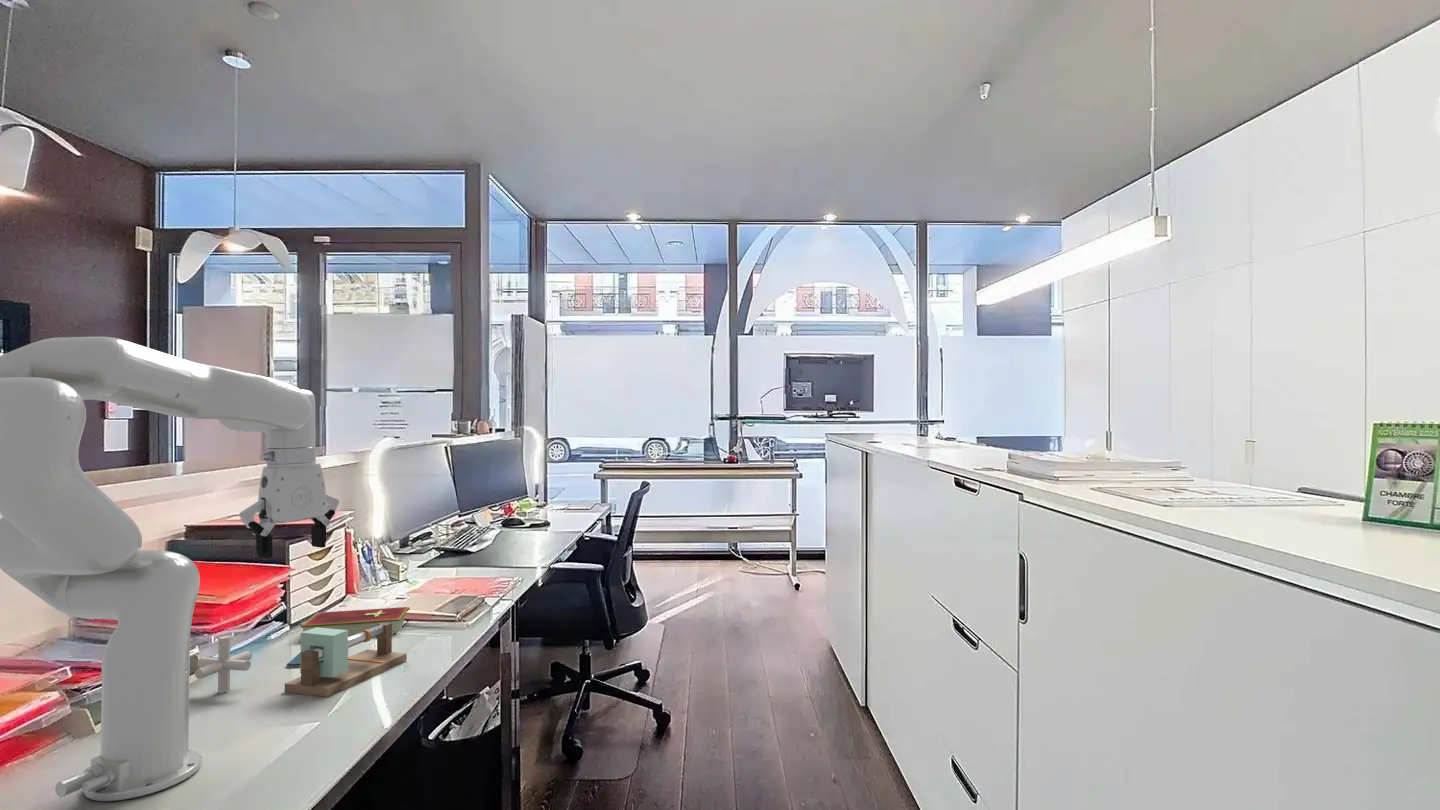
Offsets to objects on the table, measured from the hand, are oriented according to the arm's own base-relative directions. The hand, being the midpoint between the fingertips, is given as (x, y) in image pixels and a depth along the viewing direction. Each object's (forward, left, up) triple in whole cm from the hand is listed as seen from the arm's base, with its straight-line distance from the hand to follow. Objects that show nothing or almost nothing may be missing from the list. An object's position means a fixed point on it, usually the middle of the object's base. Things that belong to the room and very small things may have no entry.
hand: (292, 552), depth 124 cm
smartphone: (+21, +16, -27) cm, 38 cm away
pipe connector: (0, +16, -27) cm, 31 cm away
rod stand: (+13, 0, -27) cm, 29 cm away
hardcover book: (+38, +22, -27) cm, 51 cm away
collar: (+7, 0, -24) cm, 25 cm away
